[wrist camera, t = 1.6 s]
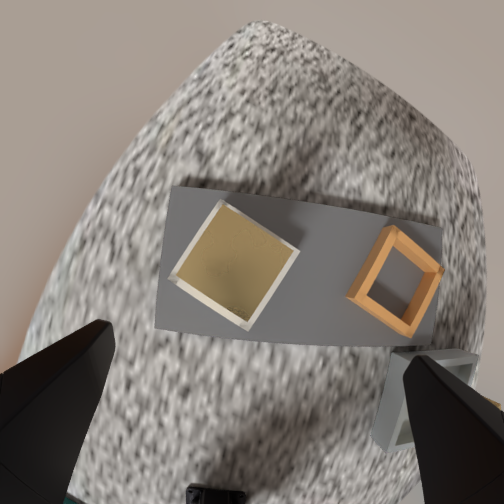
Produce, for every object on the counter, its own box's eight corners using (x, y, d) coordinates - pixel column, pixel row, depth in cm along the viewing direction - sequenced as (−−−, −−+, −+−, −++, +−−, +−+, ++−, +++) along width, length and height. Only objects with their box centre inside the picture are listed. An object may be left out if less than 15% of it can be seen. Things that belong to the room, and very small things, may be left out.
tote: (436, 423, 25) (454, 435, 21) (370, 435, 25) (385, 453, 21) (456, 348, 26) (478, 355, 22) (391, 352, 26) (412, 362, 22)
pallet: (422, 342, 26) (442, 348, 22) (158, 324, 24) (147, 333, 21) (434, 229, 27) (454, 225, 23) (175, 190, 25) (166, 178, 21)
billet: (241, 299, 23) (247, 322, 13) (199, 272, 23) (175, 275, 13) (268, 258, 24) (293, 250, 14) (226, 231, 24) (222, 204, 14)
